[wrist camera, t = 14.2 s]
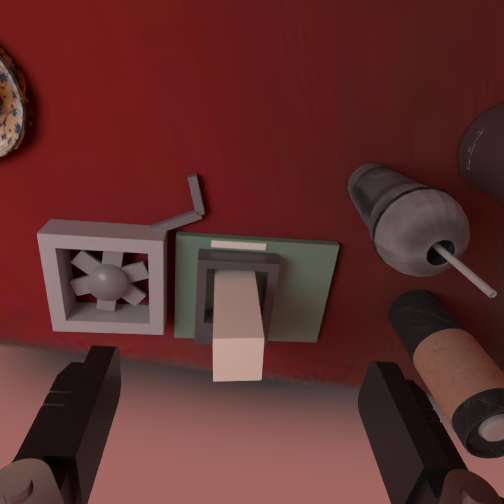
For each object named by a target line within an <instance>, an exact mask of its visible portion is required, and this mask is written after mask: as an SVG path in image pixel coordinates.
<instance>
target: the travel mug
mask: <svg viewBox="0 0 504 504" xmlns="http://www.w3.org/2000/svg"><path fill="white" fill-rule="evenodd" d="M389 318H390V321H391V323H392V325H393V327H394V329H395V331H396V333H397V335H398V336H399V338H400V340H401V342H402V344H403V346H404V347H405V349H406V351H407V353H408V355H409V357H410V358H411V360H412V362H413V364H414V366H415V367H416V369H417V371H418V372H419V374H420V376H421V377H422V379H423V380H424V382H425V384H426V385H427V387H428V389H429V390H430V392H431V394H432V395H433V397H434V398H435V400H436V402H437V403H438V405H439V407H440V408H441V410H442V411H443V413H444V415H445V416H446V418H447V420H448V421H449V423H450V425H451V426H452V428H453V429H454V431H455V433H456V434H457V436H458V438H459V439H460V441H461V442H462V444H463V446H464V447H465V448H466V450H467V451H468V452H469V453H470V454H472V455H474V456H476V457H480V458H498V457H502V456H504V374H503V372H502V371H501V370H500V369H499V368H498V366H497V365H496V364H495V363H494V362H493V360H492V359H491V358H490V357H489V356H488V354H487V353H486V352H485V351H484V350H483V348H482V347H481V346H480V345H479V344H478V342H477V341H476V340H475V339H474V338H473V336H472V335H471V334H470V333H469V332H468V331H467V330H466V329H465V328H464V327H463V325H462V324H461V323H460V322H459V321H458V320H457V319H456V318H455V317H454V316H453V315H452V313H451V312H450V311H449V310H448V309H447V308H446V307H445V306H444V305H443V304H442V303H441V302H440V300H439V299H438V298H437V297H436V296H435V295H434V294H432V293H430V292H428V291H425V290H413V291H410V292H407V293H405V294H403V295H401V296H400V297H399V298H397V299H396V300H395V302H394V303H393V304H392V306H391V308H390V311H389Z"/></svg>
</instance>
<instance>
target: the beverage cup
mask: <svg viewBox="0 0 504 504" xmlns="http://www.w3.org/2000/svg"><path fill="white" fill-rule="evenodd" d="M348 191H349V194H350V196H351V198H352V201H353V203H354V205H355V207H356V209H357V210H358V212H359V214H360V216H361V218H362V219H363V221H364V223H365V225H366V227H367V228H368V230H369V232H370V235H371V239H372V242H373V246H374V250H375V252H376V253H377V255H378V256H379V257H380V259H381V260H382V261H384V262H386V263H387V264H388V265H390V266H391V267H393V268H395V269H396V270H398V271H399V272H401V273H404V274H408V275H412V276H418V277H423V276H433V275H436V274H439V273H442V272H445V271H446V270H448V269H450V268H451V267H453V266H454V267H456V268H457V269H458V270H459V271H460V272H461V273H462V274H464V275H465V276H466V277H467V278H468V279H469V280H470V281H471V282H473V283H474V284H475V285H476V286H477V287H478V288H479V289H481V290H482V291H483V292H484V293H485V294H486V295H487V296H489V297H490V298H493V297H495V296H496V294H497V293H496V291H494V290H493V289H492V288H491V287H490V286H489V285H487V284H486V283H485V282H484V281H483V280H481V279H480V278H479V277H478V276H477V275H476V274H474V273H473V272H472V271H471V270H470V269H468V268H467V267H466V266H465V265H464V264H463V263H461V262H460V261H459V260H460V259H461V258H462V256H463V254H464V253H465V251H466V249H467V246H468V242H469V238H470V229H469V221H468V218H467V216H466V214H465V212H464V211H463V209H462V207H461V206H460V204H459V203H458V202H457V200H456V199H455V197H454V196H452V195H451V194H450V193H448V192H447V191H446V190H444V189H440V188H437V187H433V186H426V185H423V184H420V183H418V182H416V181H414V180H412V179H410V178H408V177H406V176H404V175H402V174H400V173H398V172H396V171H394V170H392V169H390V168H388V167H384V166H381V165H379V164H376V163H369V164H365V165H363V166H361V167H359V168H358V169H356V170H355V171H354V173H353V174H352V175H351V177H350V180H349V182H348Z"/></svg>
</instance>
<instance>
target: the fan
mask: <svg viewBox="0 0 504 504" xmlns="http://www.w3.org/2000/svg"><path fill="white" fill-rule="evenodd" d="M188 181H189V186H190V190H191V195H192V199H193V203H194V208H195V210H192V211H189V212H186V213H184V214H181V215H178V216H175V217H172V218H169V219H166V220H163V221H161V222H158V223H155V224H152V225H151V226H150V225H135V224H120V223H105V222H89V221H74V220H59V219H50V220H49V221H48V222H47V223H46V224H45V225H44V226H43V227H42V228H41V230H40V231H39V232H38V233H37V238H38V244H39V250H40V256H41V262H42V267H43V273H44V279H45V285H46V291H47V297H48V303H49V309H50V315H51V320H52V326H53V331H69V332H97V333H125V334H154V335H163V334H164V329H165V324H166V319H167V231H168V230H171V229H174V228H177V227H180V226H183V225H185V224H188V223H191V222H194V221H197V220H200V219H202V216H203V215H204V214H205V208H204V203H203V199H202V194H201V189H200V185H199V180H198V175H197V174H192V175H188ZM70 249H79V250H81V251H80V252H79V253H78V255H77V256H76V257H75V258H74V259H73V260H72V261H71V257H70ZM86 250H97V251H103V258H101V259H100V260H98V259H97V258H95V257H94V256H93V255H91V254H90V253H88V252H87V251H86ZM124 252H131V253H148V267H149V273H148V270H147V268H146V266H145V264H144V261H141V262H137V263H133V264H128V263H127V262H126V261H125V260H124V259H123V255H124ZM71 263H72V264H74V265H75V266H77V267H78V268H79V269H81V270H82V271H84V272H85V273H87V274H88V275H86V276H82V277H79V278H75V279H73V273H72V265H71ZM147 278H149V305H137V304H138V303H139V302H140V301H141V300H142V299H143V298H144V297H146V293H144V292H143V291H142V290H140V289H139V288H137V287H136V286H135V285H133V284H132V283H131V282H135V281H139V280H143V279H147ZM75 293H76V295H77V296H80V295H84V294H88V293H91V294H92V295H93V296H95V297H96V298H97V303H88V302H76V296H75ZM121 297H122V298H123V299H124V300H126V301H127V302H129V303H130V304H116V300H117V299H119V298H121Z"/></svg>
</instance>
